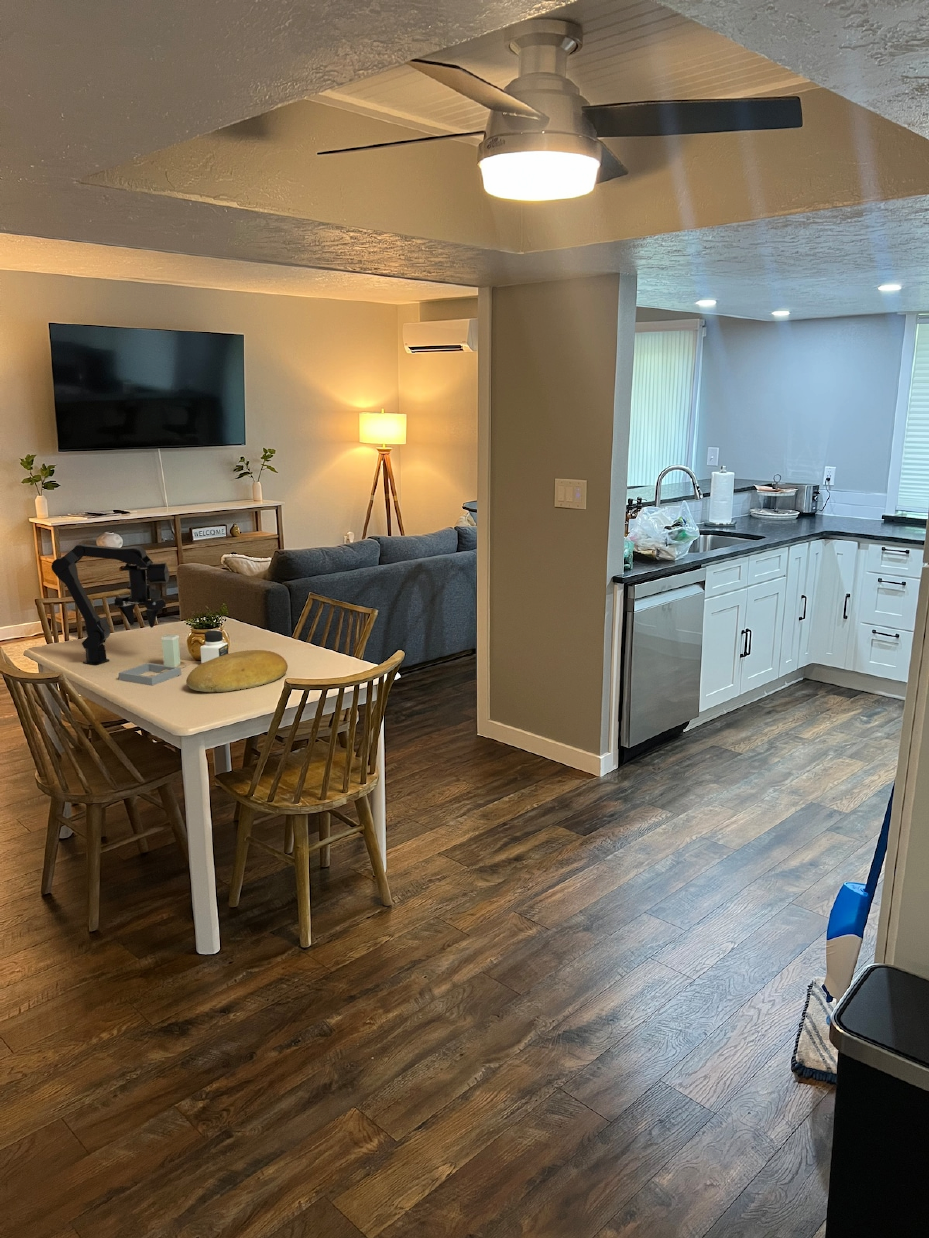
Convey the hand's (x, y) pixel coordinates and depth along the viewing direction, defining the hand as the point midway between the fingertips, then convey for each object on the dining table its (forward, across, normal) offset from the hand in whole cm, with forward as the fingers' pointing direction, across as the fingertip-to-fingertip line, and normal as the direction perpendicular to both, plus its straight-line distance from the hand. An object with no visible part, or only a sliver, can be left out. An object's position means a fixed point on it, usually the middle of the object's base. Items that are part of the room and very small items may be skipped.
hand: (142, 626), depth 322 cm
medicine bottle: (+13, -25, -8) cm, 29 cm away
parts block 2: (+13, -20, +10) cm, 26 cm away
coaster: (+13, -13, +1) cm, 18 cm away
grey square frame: (+13, -16, +14) cm, 25 cm away
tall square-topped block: (+13, -13, +1) cm, 18 cm away
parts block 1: (+13, -20, +18) cm, 30 cm away
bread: (+14, -47, +6) cm, 49 cm away
